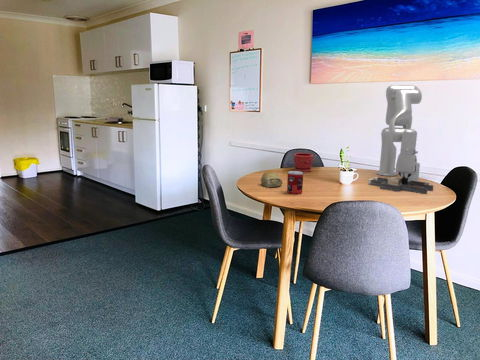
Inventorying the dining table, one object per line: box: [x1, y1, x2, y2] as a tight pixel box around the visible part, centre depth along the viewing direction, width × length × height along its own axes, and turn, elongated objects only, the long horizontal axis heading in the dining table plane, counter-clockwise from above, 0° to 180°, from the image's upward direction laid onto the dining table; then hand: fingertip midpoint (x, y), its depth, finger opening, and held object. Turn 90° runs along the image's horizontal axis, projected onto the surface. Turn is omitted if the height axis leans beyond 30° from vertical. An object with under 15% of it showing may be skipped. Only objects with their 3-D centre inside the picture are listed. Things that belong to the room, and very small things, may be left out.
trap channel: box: [368, 176, 434, 195], centre depth 213 cm, size 22×32×3 cm
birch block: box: [387, 176, 402, 186], centre depth 214 cm, size 6×6×5 cm
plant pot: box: [293, 152, 314, 173], centre depth 259 cm, size 13×13×12 cm
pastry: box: [260, 171, 283, 189], centre depth 213 cm, size 14×12×8 cm
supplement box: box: [405, 161, 421, 181], centre depth 226 cm, size 7×7×13 cm
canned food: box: [286, 170, 304, 195], centre depth 195 cm, size 8×8×11 cm
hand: (404, 184), depth 211 cm, fingers closed
